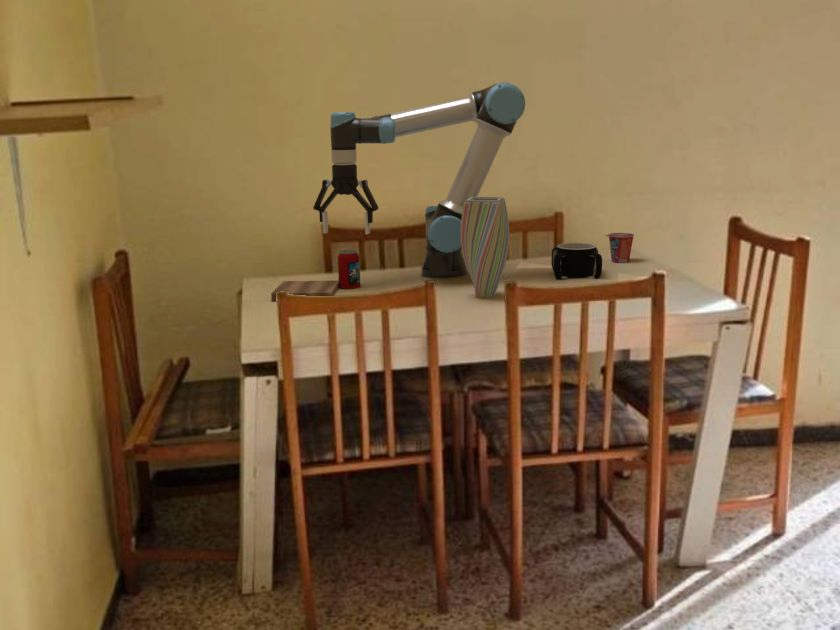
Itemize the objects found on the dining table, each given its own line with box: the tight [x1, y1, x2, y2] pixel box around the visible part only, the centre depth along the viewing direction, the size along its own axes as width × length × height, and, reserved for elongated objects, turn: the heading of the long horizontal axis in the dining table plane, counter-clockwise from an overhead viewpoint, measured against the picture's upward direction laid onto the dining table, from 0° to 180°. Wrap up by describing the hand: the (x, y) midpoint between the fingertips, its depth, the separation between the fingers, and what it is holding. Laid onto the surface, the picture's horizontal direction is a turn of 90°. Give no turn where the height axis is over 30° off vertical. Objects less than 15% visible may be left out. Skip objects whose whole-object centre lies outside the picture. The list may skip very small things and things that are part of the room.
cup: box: [605, 232, 635, 264], centre depth 298 cm, size 9×8×12 cm
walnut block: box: [270, 279, 340, 303], centre depth 274 cm, size 18×18×3 cm
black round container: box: [550, 242, 603, 281], centre depth 279 cm, size 16×16×12 cm
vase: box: [460, 196, 510, 299], centre depth 254 cm, size 14×14×30 cm
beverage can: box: [337, 249, 361, 290], centre depth 279 cm, size 7×7×12 cm
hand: (346, 233), depth 276 cm, fingers open, 13 cm apart
